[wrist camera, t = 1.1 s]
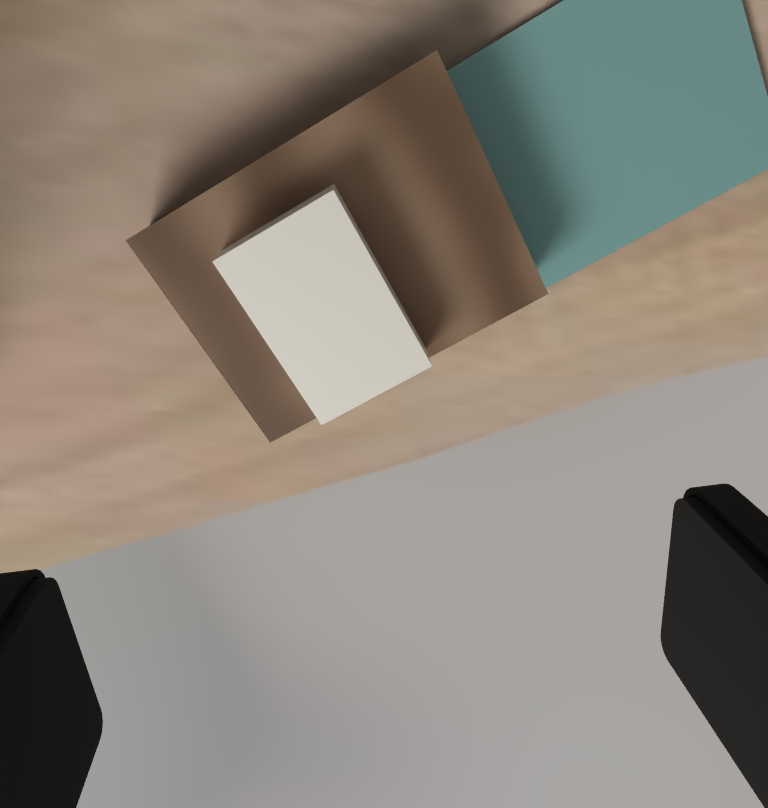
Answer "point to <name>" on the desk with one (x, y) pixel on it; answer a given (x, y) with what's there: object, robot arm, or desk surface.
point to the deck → (375, 217)
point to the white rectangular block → (324, 305)
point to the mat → (615, 119)
